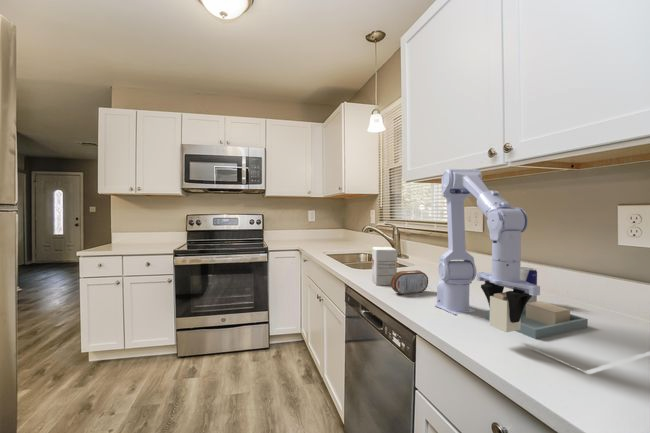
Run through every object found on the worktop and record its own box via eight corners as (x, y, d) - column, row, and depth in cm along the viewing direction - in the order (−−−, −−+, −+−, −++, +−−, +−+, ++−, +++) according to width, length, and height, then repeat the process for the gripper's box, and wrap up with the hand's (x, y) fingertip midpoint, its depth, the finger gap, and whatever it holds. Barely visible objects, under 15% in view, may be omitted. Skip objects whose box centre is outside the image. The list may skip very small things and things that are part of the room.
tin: (424, 290, 117) (424, 269, 117) (429, 292, 114) (429, 270, 114) (390, 293, 113) (390, 271, 112) (394, 296, 110) (395, 273, 109)
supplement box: (371, 280, 133) (371, 246, 133) (391, 280, 134) (391, 246, 133) (375, 285, 124) (375, 249, 124) (397, 285, 125) (397, 249, 124)
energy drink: (538, 308, 96) (539, 270, 96) (519, 306, 98) (519, 269, 98) (533, 303, 101) (534, 267, 101) (515, 301, 103) (516, 266, 103)
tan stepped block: (525, 316, 87) (525, 303, 87) (539, 314, 89) (540, 301, 89) (555, 327, 79) (555, 312, 79) (569, 324, 81) (570, 309, 81)
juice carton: (489, 325, 71) (490, 292, 71) (502, 322, 73) (503, 290, 73) (506, 332, 67) (507, 298, 67) (520, 329, 69) (521, 295, 69)
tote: (485, 320, 86) (486, 311, 85) (534, 312, 92) (534, 303, 92) (535, 341, 72) (535, 329, 72) (587, 329, 79) (587, 319, 79)
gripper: (467, 256, 75) (466, 309, 75) (524, 267, 61) (522, 332, 62) (488, 254, 77) (487, 306, 78) (547, 264, 64) (545, 327, 64)
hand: (504, 317), depth 70 cm, fingers closed on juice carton, 4 cm apart
